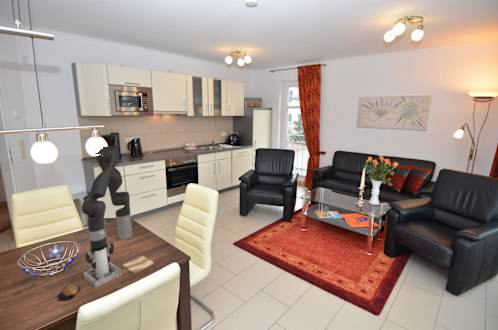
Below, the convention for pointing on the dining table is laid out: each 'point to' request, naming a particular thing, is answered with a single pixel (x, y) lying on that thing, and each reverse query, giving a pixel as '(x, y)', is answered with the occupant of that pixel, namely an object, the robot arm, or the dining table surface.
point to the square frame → (106, 277)
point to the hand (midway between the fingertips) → (101, 264)
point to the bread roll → (68, 293)
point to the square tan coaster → (137, 264)
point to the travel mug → (101, 262)
